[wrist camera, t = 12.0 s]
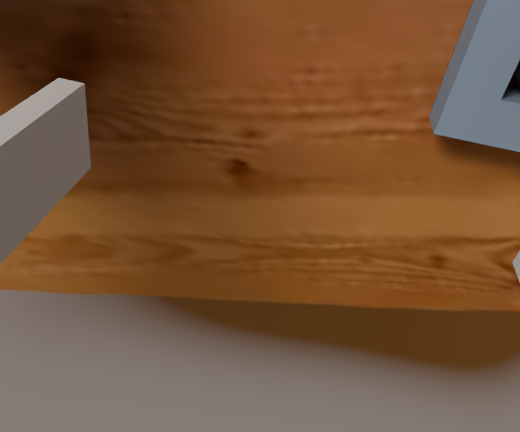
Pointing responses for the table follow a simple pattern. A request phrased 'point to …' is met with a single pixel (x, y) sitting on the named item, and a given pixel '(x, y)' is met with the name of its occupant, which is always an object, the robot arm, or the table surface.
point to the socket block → (483, 79)
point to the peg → (517, 73)
